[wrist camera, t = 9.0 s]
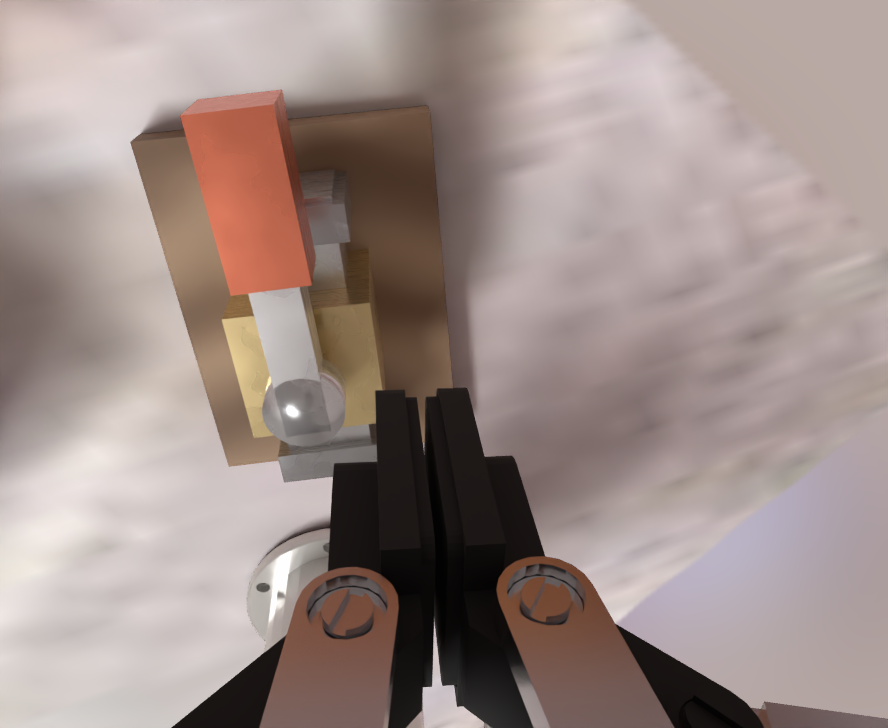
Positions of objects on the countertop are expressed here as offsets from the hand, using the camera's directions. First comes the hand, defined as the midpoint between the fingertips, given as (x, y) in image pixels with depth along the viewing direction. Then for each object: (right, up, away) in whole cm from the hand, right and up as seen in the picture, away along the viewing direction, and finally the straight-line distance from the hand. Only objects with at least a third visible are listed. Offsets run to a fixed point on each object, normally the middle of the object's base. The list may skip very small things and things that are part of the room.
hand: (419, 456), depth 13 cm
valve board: (-6, +5, +23) cm, 25 cm away
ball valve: (-6, +4, +22) cm, 24 cm away
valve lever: (-6, +5, +14) cm, 16 cm away
